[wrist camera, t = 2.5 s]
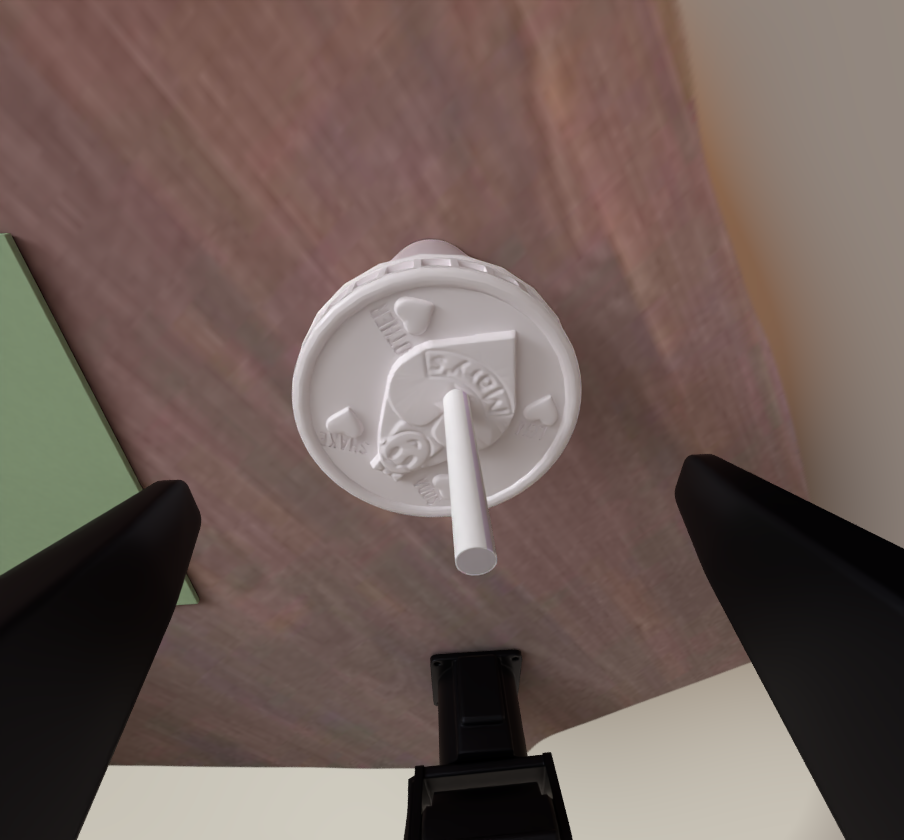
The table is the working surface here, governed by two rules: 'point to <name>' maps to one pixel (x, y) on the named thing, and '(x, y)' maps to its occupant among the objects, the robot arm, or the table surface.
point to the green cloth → (49, 429)
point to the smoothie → (437, 390)
